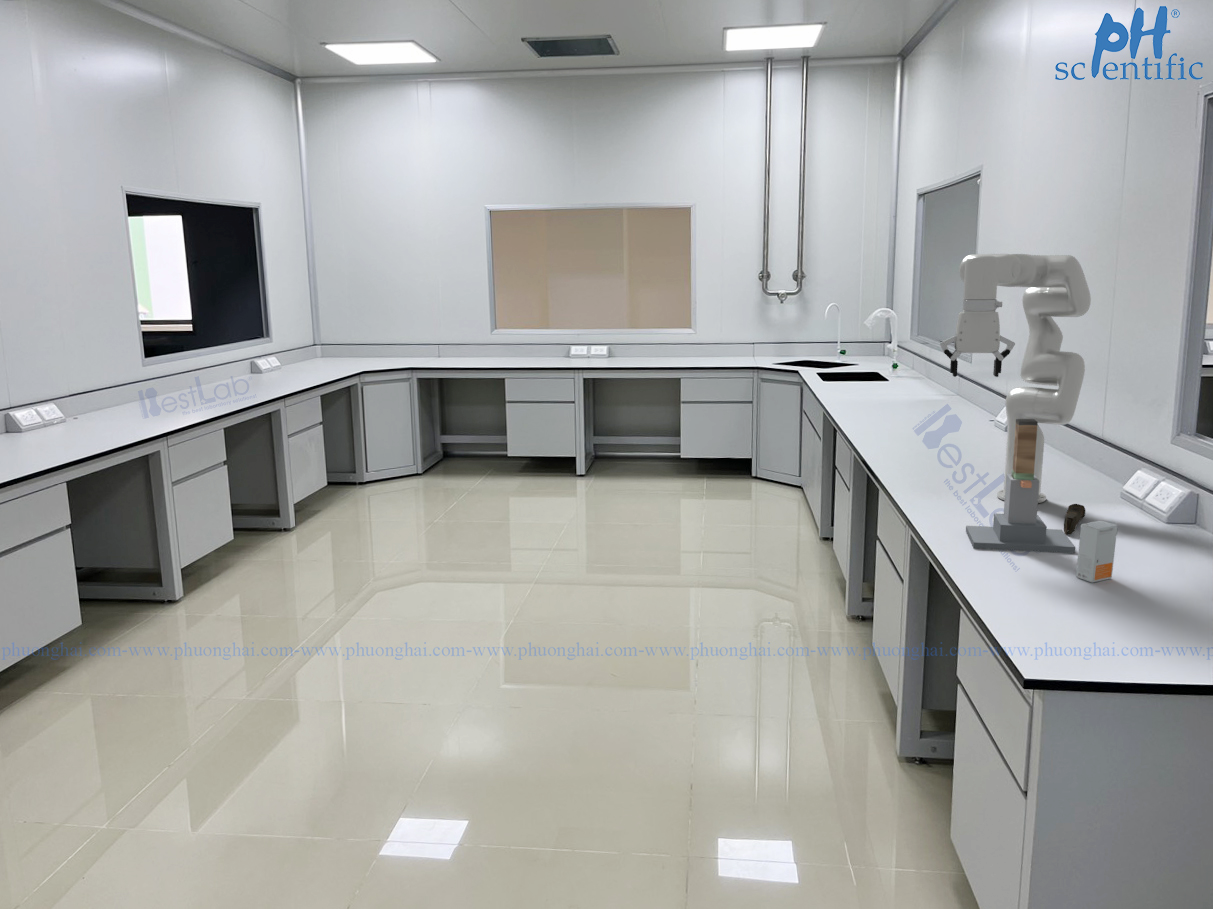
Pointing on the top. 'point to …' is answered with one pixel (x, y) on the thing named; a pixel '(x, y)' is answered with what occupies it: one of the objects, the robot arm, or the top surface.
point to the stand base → (1020, 524)
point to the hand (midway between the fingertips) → (975, 376)
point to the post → (1024, 449)
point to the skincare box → (1096, 551)
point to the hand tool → (1073, 518)
